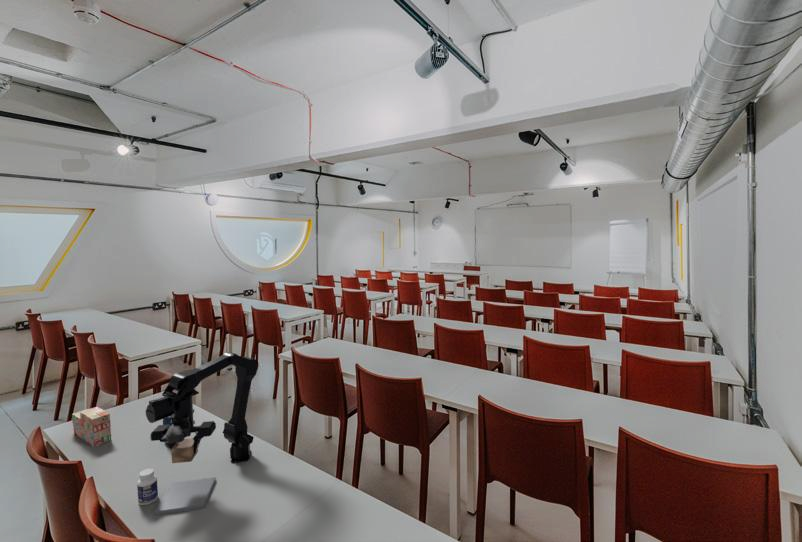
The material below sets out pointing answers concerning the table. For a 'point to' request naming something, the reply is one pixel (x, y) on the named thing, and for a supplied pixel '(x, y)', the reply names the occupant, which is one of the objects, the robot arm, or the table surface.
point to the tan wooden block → (183, 451)
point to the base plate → (185, 496)
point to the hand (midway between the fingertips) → (185, 454)
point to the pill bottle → (147, 487)
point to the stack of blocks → (92, 425)
